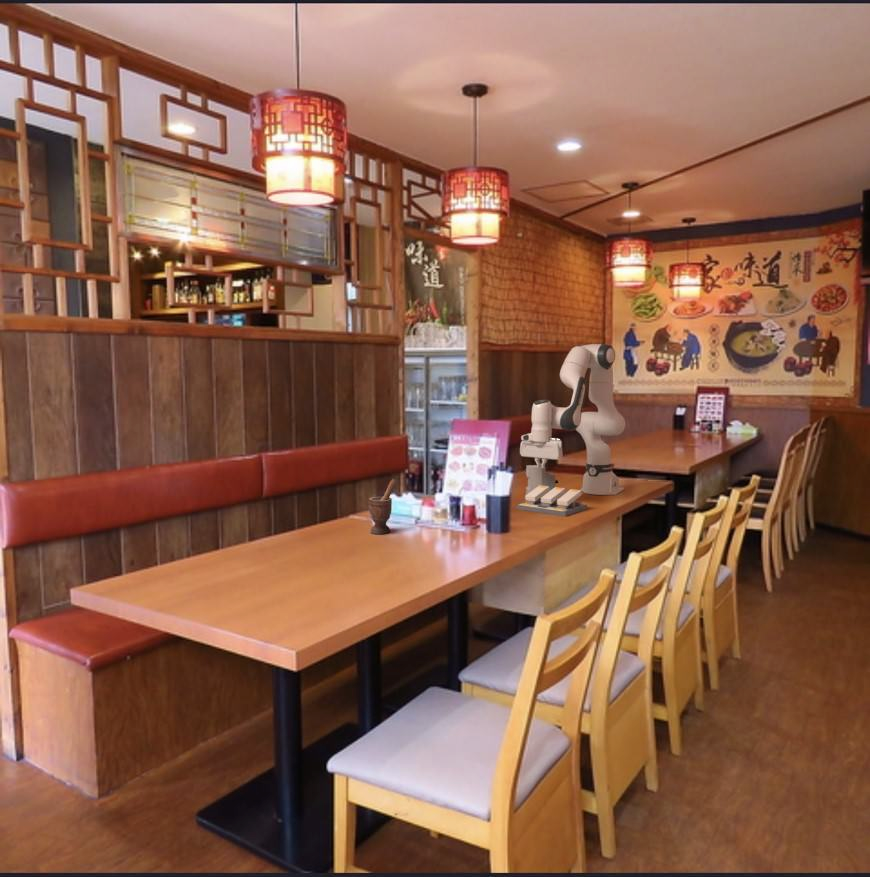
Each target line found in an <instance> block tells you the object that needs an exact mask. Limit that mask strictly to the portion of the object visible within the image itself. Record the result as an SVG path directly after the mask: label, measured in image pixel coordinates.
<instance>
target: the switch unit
mask: <svg viewBox="0 0 870 877" xmlns="http://www.w3.org/2000/svg"><path fill="white" fill-rule="evenodd" d="M558 499H559V498H558ZM558 499H557V500H558ZM557 500H555V501H554V502H553V503H552V504H550V503H542V502H541V498H539V499H538V500H537V501H528V500H525V501H524V502H522V503H518V504H516V510H518V511H519V510H520V511H526V512H534V513H539V514H545V515H546V514H548V515H555V516H560V517H568V516H570V515H575V514H577V513H580V512H583V511H586V510H588V504H586V503H585V504H583V503H582V502H581V501H576V500H575V501H573V502H572V503H571V504H570V505H568V506H564V505H557Z"/></svg>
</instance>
